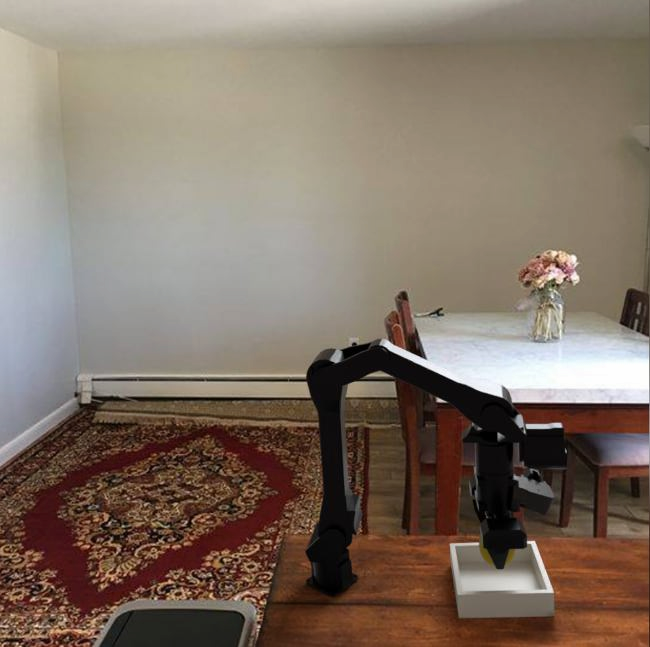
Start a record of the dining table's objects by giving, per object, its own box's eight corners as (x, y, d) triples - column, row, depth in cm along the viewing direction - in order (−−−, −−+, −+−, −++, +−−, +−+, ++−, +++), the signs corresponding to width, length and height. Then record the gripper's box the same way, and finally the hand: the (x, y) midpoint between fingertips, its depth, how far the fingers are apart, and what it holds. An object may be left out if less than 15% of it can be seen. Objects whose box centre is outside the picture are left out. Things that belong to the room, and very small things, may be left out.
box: (458, 618, 105) (457, 594, 104) (450, 564, 118) (449, 543, 117) (554, 616, 103) (554, 592, 102) (535, 562, 117) (534, 540, 116)
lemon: (481, 555, 113) (479, 511, 111) (516, 558, 112) (515, 513, 110) (478, 575, 108) (476, 529, 106) (514, 579, 107) (513, 532, 105)
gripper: (563, 494, 96) (564, 593, 100) (536, 439, 114) (537, 525, 118) (481, 497, 97) (485, 595, 101) (467, 442, 115) (470, 527, 119)
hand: (497, 558), depth 110 cm, fingers closed on lemon, 5 cm apart
